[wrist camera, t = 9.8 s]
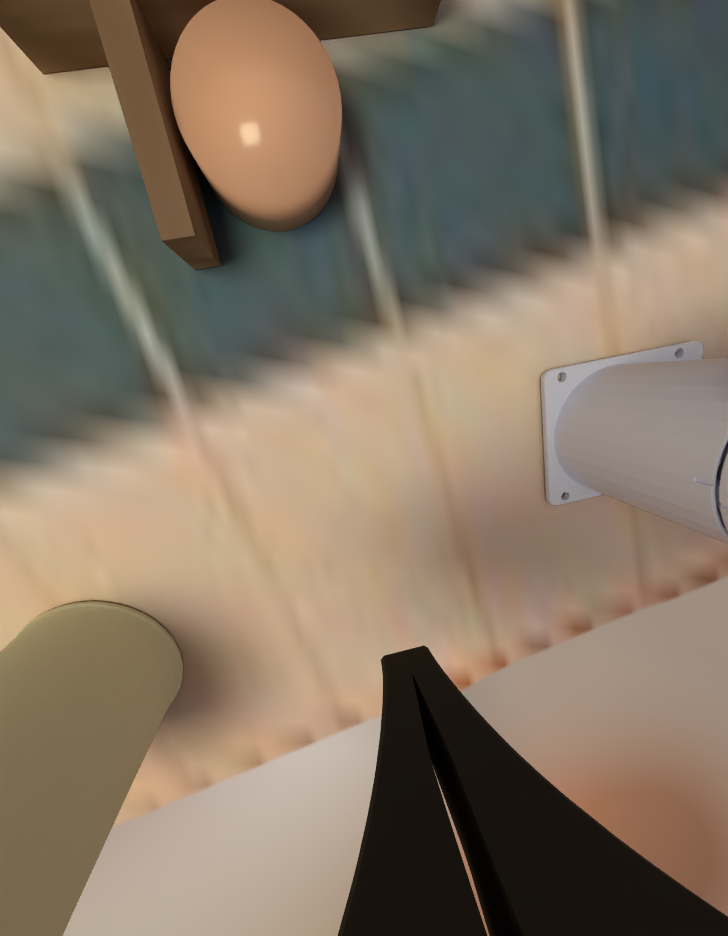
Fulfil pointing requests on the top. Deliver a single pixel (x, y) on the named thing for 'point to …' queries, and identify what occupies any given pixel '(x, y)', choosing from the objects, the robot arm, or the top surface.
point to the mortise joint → (148, 80)
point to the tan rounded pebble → (259, 111)
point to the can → (72, 748)
